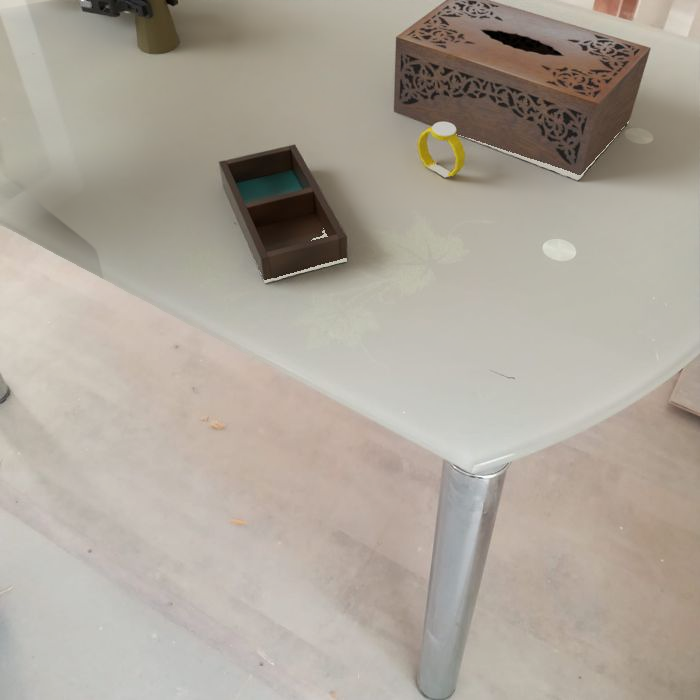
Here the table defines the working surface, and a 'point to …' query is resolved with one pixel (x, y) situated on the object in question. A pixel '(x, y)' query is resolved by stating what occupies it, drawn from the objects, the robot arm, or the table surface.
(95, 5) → the robot arm
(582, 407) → the table surface
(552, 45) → the tissue box cover
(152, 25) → the olive peg doll
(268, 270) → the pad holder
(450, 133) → the watch
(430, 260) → the table surface
